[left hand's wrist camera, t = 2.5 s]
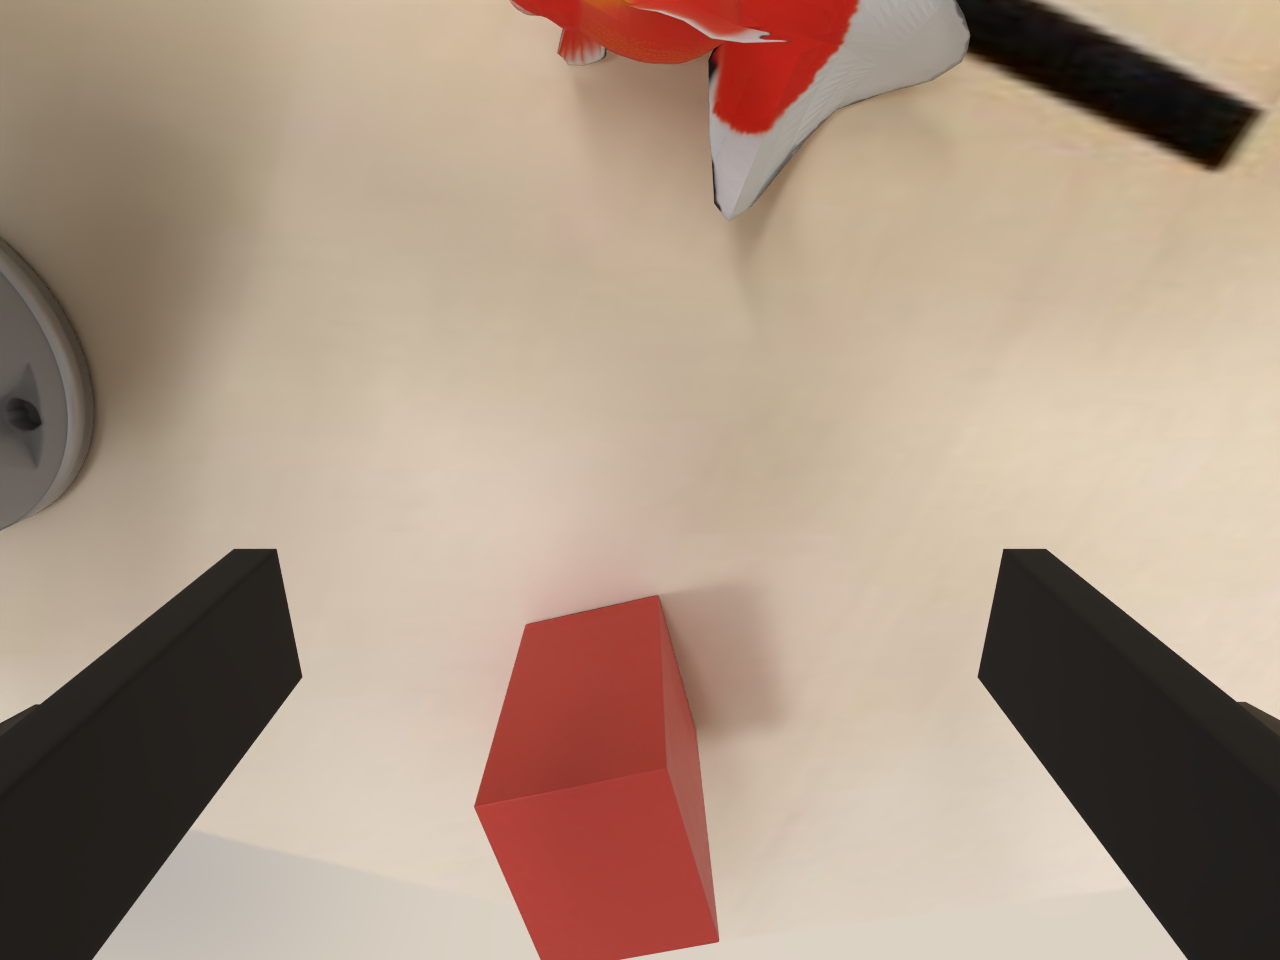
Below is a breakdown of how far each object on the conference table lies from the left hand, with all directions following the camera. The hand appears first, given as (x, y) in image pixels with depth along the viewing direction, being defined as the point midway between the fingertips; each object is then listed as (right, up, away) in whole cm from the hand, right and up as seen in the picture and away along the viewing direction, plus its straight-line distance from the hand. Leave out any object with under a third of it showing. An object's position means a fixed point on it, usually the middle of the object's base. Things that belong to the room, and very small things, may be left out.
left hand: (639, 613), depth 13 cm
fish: (+3, +19, +13) cm, 23 cm away
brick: (-1, -8, +23) cm, 24 cm away
